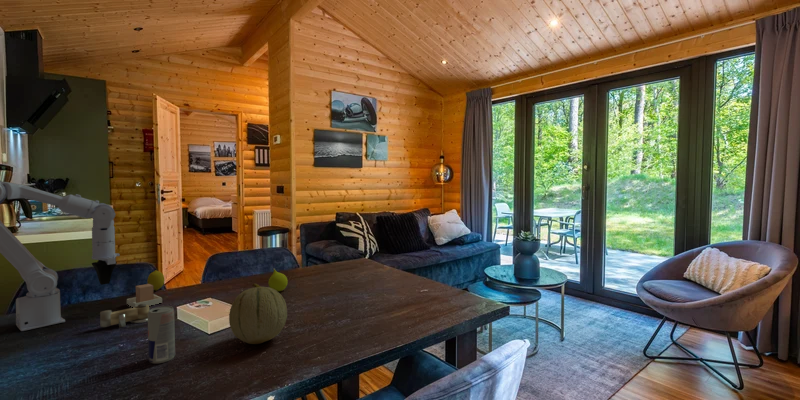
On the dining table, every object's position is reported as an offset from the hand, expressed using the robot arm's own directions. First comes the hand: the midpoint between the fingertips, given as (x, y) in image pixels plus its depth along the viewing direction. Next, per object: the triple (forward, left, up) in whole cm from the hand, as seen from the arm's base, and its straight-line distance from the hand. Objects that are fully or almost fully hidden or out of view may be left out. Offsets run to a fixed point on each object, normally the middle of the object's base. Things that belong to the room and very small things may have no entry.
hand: (104, 283), depth 121 cm
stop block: (+11, 0, -9) cm, 14 cm away
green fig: (+49, -22, -10) cm, 55 cm away
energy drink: (-2, -49, -10) cm, 50 cm away
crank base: (+3, -16, -9) cm, 19 cm away
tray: (+11, 0, -9) cm, 14 cm away
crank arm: (+1, -16, -9) cm, 18 cm away
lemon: (+20, +15, -10) cm, 27 cm away
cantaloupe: (+18, -58, -10) cm, 61 cm away
